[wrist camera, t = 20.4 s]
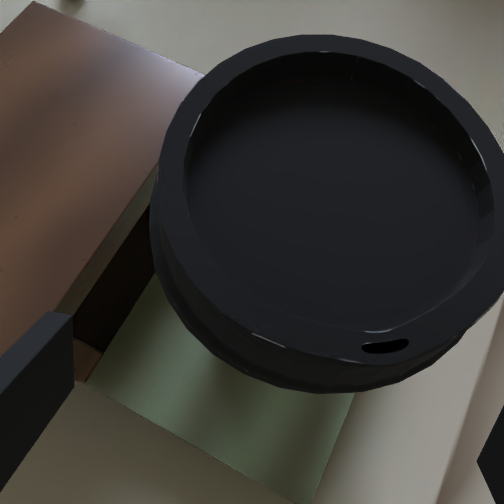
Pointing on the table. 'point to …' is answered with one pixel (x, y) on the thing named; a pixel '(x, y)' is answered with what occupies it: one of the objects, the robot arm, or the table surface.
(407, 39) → the table surface
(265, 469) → the step shelf
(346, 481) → the table surface
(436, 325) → the coffee cup
